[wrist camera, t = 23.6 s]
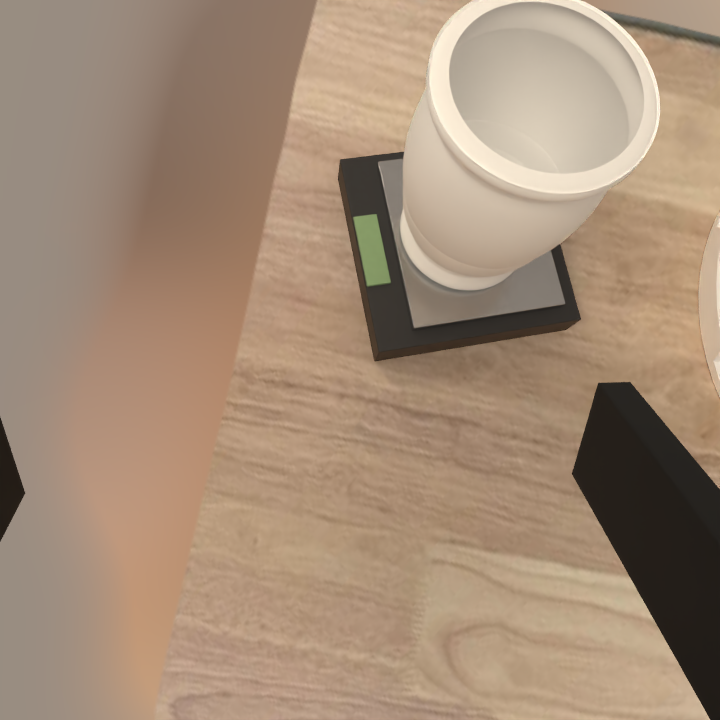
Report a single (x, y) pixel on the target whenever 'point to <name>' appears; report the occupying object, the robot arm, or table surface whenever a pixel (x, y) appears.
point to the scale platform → (452, 306)
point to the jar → (520, 135)
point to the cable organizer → (711, 302)
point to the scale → (385, 285)
